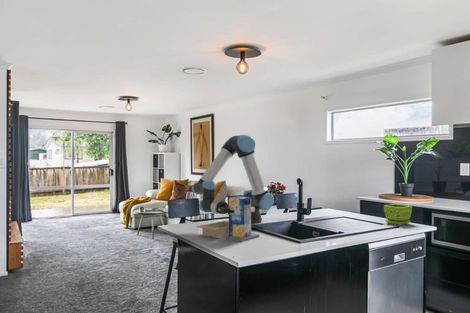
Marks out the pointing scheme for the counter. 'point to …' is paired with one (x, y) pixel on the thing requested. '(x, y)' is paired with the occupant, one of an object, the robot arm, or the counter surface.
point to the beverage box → (240, 217)
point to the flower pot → (398, 214)
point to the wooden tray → (216, 229)
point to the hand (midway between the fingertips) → (247, 210)
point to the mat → (242, 238)
